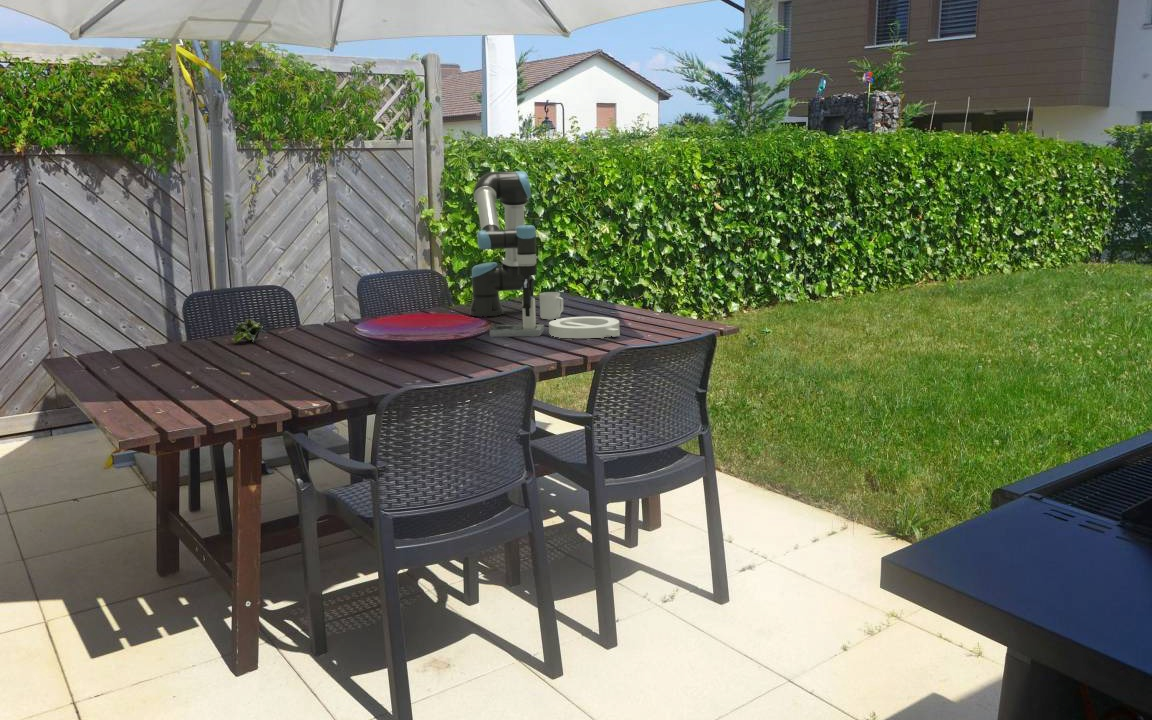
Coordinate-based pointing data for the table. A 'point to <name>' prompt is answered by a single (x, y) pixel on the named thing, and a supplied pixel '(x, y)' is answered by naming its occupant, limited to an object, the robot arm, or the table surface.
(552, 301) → the mug
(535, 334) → the panel
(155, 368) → the table surface
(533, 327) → the white tall block
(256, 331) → the green leafy plant
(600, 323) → the white circle with bar
